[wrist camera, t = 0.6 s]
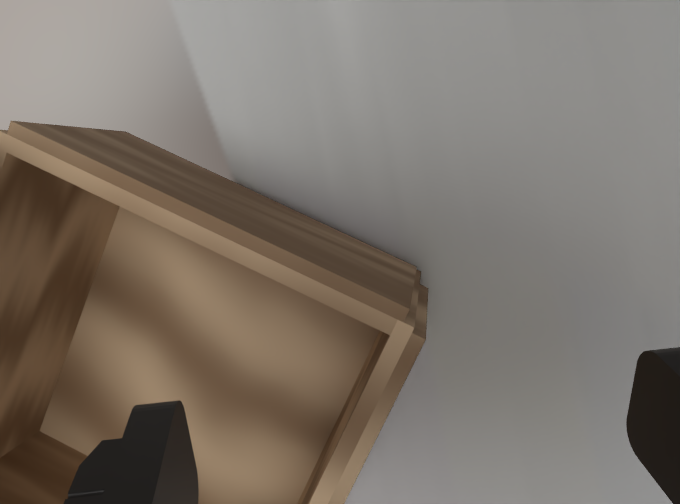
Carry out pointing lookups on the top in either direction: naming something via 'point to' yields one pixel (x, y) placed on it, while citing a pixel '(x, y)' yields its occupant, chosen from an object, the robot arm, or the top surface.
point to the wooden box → (187, 322)
